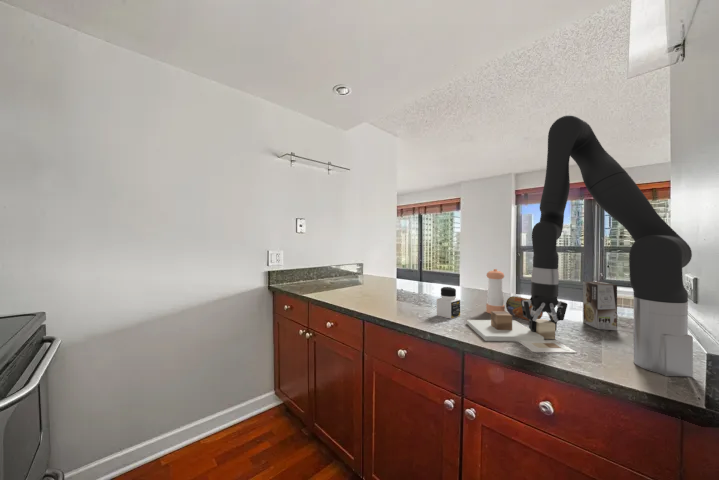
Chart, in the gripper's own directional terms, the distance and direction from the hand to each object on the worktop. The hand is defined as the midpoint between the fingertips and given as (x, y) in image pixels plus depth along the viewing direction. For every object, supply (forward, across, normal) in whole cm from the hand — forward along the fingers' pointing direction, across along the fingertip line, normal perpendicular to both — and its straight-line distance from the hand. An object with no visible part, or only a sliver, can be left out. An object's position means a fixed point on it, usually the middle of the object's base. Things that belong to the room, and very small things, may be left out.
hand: (542, 331), depth 93 cm
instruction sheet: (+1, -5, -9) cm, 11 cm away
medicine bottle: (+3, -25, +24) cm, 34 cm away
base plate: (+2, -12, +4) cm, 12 cm away
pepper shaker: (+2, -3, +30) cm, 30 cm away
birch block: (+1, 0, 0) cm, 1 cm away
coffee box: (+1, +27, +12) cm, 30 cm away
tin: (+2, +5, +22) cm, 22 cm away
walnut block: (0, -12, +4) cm, 12 cm away
